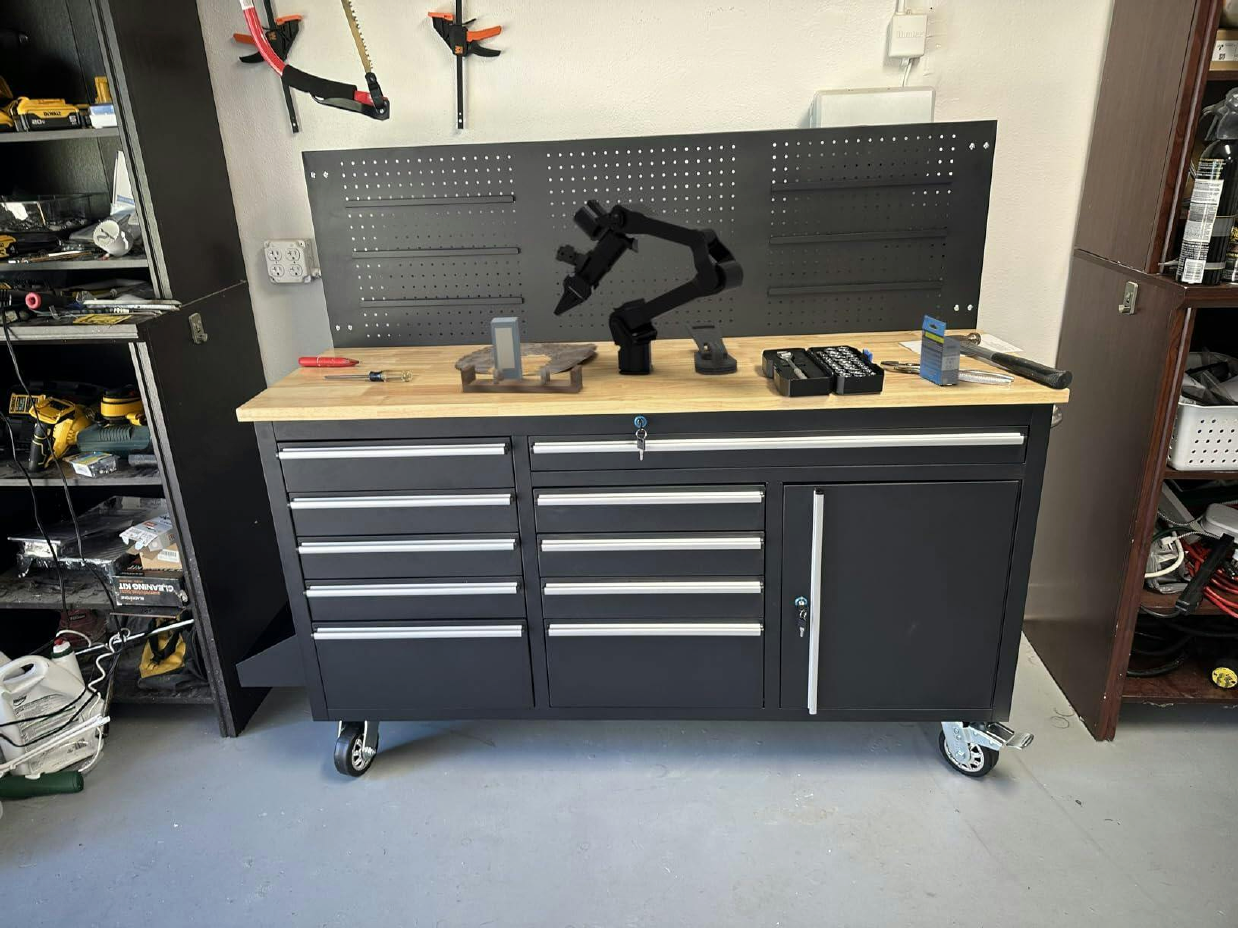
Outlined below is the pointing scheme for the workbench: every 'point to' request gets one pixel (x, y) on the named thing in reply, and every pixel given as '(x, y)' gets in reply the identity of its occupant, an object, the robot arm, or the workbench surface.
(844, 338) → the workbench surface
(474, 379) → the rail
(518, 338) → the frame block
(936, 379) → the label tape box
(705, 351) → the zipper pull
